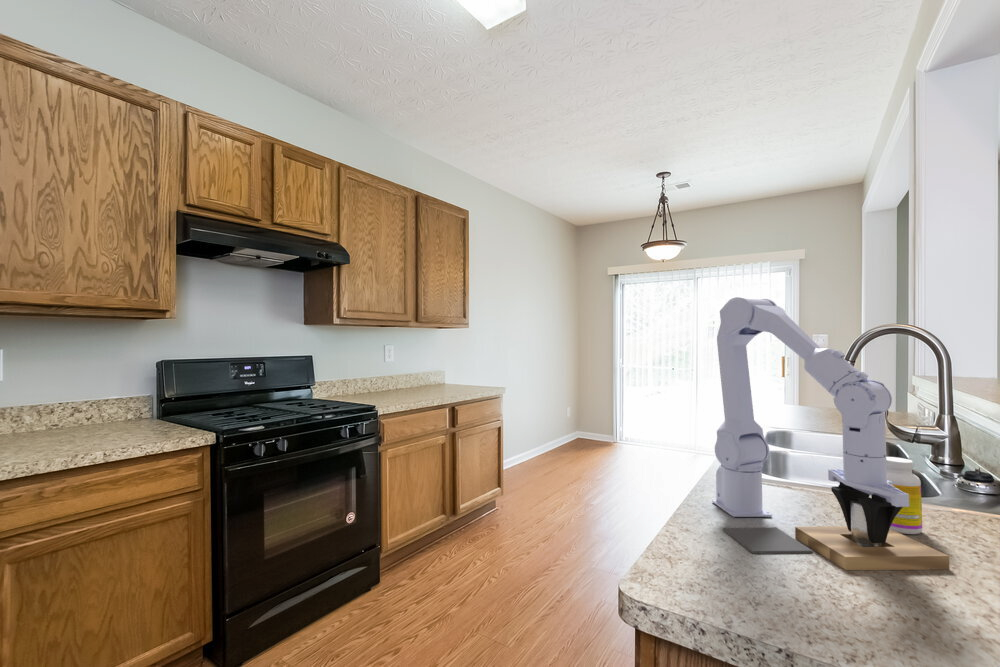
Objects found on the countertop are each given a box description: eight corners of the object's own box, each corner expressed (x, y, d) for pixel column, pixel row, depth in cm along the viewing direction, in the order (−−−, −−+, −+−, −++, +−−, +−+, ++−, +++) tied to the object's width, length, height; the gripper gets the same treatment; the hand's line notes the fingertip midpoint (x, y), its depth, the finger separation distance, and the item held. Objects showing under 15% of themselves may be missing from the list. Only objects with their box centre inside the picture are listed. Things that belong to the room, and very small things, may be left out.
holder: (795, 538, 84) (795, 526, 84) (884, 537, 84) (884, 526, 84) (845, 570, 72) (845, 556, 72) (949, 569, 72) (949, 555, 72)
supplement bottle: (931, 537, 84) (929, 464, 84) (889, 534, 85) (887, 462, 86) (907, 523, 91) (905, 456, 91) (868, 520, 92) (866, 454, 92)
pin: (845, 547, 80) (844, 499, 80) (869, 547, 80) (867, 499, 80) (864, 558, 76) (862, 508, 76) (888, 557, 76) (887, 507, 76)
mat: (722, 529, 88) (722, 527, 88) (776, 529, 88) (776, 527, 88) (752, 553, 78) (752, 551, 78) (812, 553, 78) (812, 550, 78)
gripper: (928, 464, 71) (930, 555, 71) (854, 444, 86) (856, 520, 85) (881, 464, 71) (884, 556, 71) (816, 444, 86) (817, 520, 85)
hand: (866, 536), depth 78 cm, fingers closed on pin, 4 cm apart
